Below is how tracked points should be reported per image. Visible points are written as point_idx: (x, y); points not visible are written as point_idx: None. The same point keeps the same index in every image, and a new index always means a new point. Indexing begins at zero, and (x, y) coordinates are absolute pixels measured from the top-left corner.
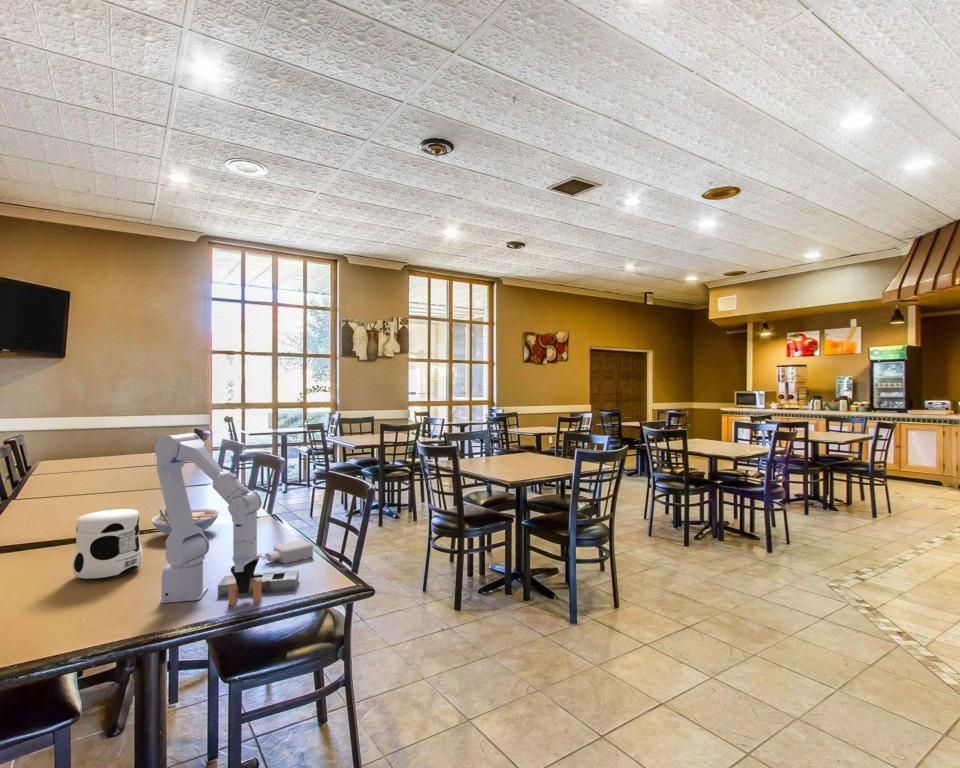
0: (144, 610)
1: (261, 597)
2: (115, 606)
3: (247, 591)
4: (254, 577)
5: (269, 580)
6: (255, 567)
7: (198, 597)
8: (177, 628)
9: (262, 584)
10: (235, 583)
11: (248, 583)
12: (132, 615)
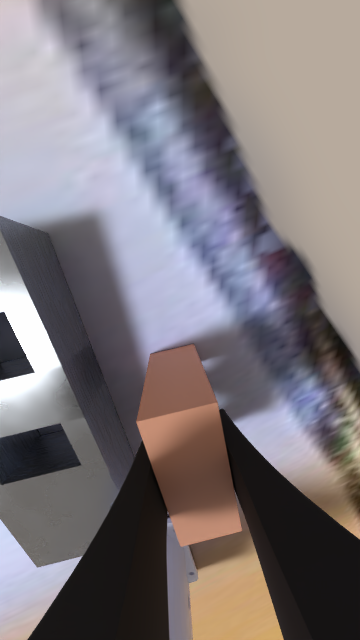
0: (231, 574)
1: (150, 354)
2: (206, 621)
3: (225, 412)
4: (6, 464)
5: (51, 377)
6: (86, 568)
7: (171, 526)
8: (344, 470)
9: (84, 394)
10: (236, 506)
11: (252, 447)
12: (255, 576)
